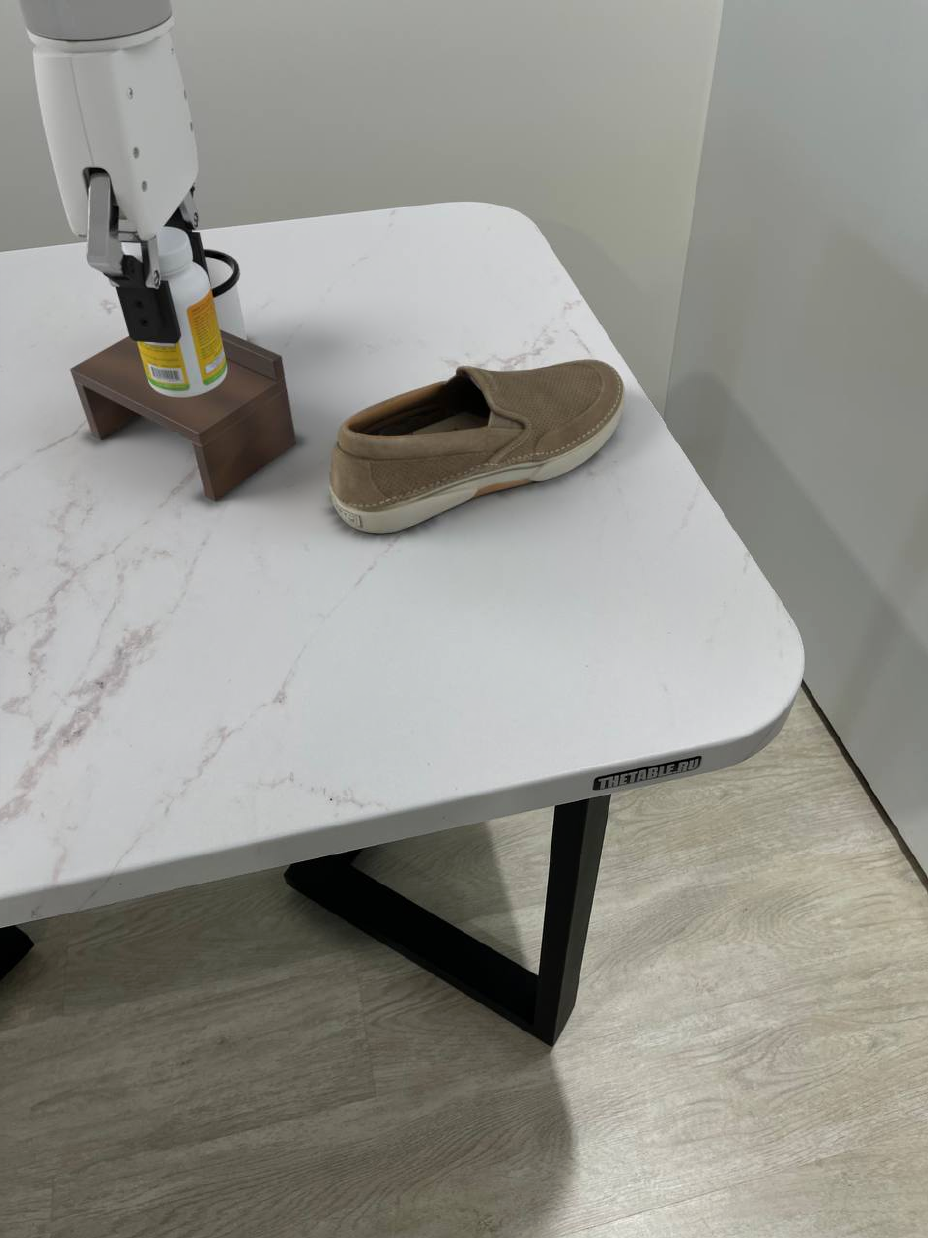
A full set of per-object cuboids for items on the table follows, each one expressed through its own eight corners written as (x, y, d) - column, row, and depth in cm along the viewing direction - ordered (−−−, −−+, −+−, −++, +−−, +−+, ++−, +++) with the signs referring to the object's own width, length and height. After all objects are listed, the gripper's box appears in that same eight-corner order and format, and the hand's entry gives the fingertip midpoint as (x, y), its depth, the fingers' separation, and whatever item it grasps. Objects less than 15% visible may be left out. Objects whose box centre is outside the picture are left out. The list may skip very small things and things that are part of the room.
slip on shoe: (585, 378, 98) (592, 293, 91) (658, 438, 91) (671, 351, 85) (306, 480, 88) (292, 392, 81) (365, 556, 81) (355, 467, 74)
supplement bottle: (216, 348, 71) (187, 213, 64) (238, 387, 68) (210, 249, 61) (140, 366, 70) (102, 230, 63) (158, 407, 67) (120, 268, 59)
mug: (262, 372, 99) (247, 287, 92) (165, 391, 97) (142, 305, 90) (241, 312, 107) (226, 229, 100) (151, 328, 105) (129, 244, 98)
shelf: (215, 501, 86) (193, 413, 79) (92, 435, 92) (62, 348, 86) (296, 442, 91) (281, 355, 85) (174, 384, 98) (152, 299, 91)
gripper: (88, -50, 59) (160, 248, 72) (-52, 52, 47) (65, 385, 60) (214, -47, 58) (263, 253, 71) (103, 57, 46) (187, 394, 59)
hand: (172, 311), depth 65 cm, fingers closed on supplement bottle, 5 cm apart
